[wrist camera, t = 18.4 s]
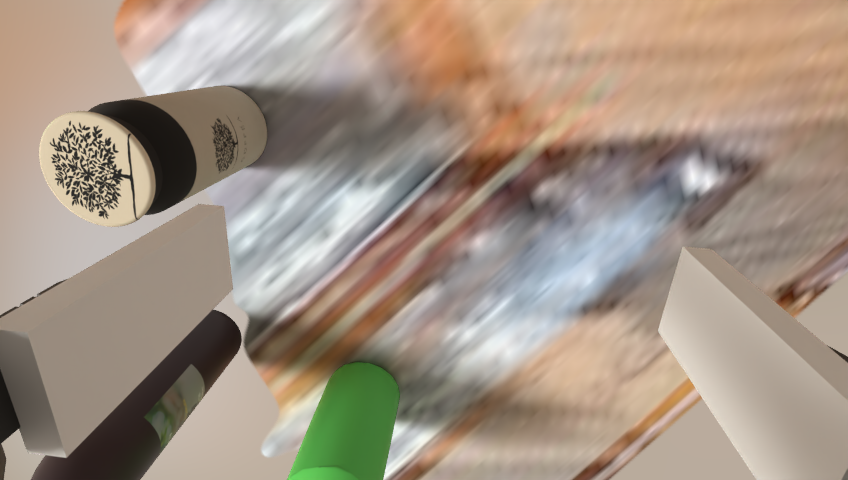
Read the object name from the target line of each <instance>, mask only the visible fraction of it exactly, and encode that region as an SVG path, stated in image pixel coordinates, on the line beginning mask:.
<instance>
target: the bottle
mask: <svg viewBox="0 0 848 480" xmlns="http://www.w3.org/2000/svg"><path fill="white" fill-rule="evenodd" d="M399 398H400V393H399V388H398V385H397V383H396V382H395V380H394V379H393V377H392V376H391V375H390V374H389V373H388V372H386V371H385V370H384V369H382V368H381V367H378V366H376V365H373V364H371V363H361V362H355V363H350V364H346V365H344V366H342V367H340V368H339V369H337V370H336V371H335V372H334V373H333V375H332V376H331V378H330V379H329V381H328V383H327V386H326V388H325V390H324V393H323V395H322V397H321V400H320V402H319V404H318V407H317V409H316V411H315V414H314V416H313V418H312V420H311V423H310V425H309V428H308V430H307V432H306V435H305V437H304V440H303V442H302V445H301V447H300V449H299V452H298V454H297V457H296V460H295V462H294V464H293V467H292V469H291V471H290V474H289V476H288V479H287V480H383V477H384V473H385V468H386V463H387V458H388V454H389V449H390V444H391V439H392V434H393V429H394V424H395V419H396V414H397V409H398V404H399Z"/></svg>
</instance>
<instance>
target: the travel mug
mask: <svg viewBox="0 0 848 480" xmlns="http://www.w3.org/2000/svg"><path fill="white" fill-rule="evenodd" d="M266 142H267V127H266V122H265V119H264V116H263V114H262V112H261V111H260V109H259V107H258V106H257V105H256V103H255V102H254V101H253V100H252V99H251V98H250V97H249V96H247V95H246V94H245V93H243V92H241V91H239V90H237V89H235V88H232V87H228V86H214V87H207V88H200V89H194V90H187V91H180V92H174V93H167V94H160V95H154V96H147V97H141V98H134V99H127V100H120V101H114V102H108V103H103V104H99V105H97V106H95V107H93V108H91V109H90V110H89V111H88V112H87V111H76V112H70V113H67V114H64V115H61V116H59V117H58V118H56V119H55V120H53V121H52V122H51V123H50V124H49V125H48V127H47V128H46V130H45V131H44V133H43V135H42V138H41V142H40V148H39V159H40V165H41V169H42V172H43V175H44V177H45V180H46V182H47V184H48V186H49V187H50V189H51V190H52V192H53V193H54V195H55V196H56V197H57V198H58V199H59V201H60V202H61V203H62V204H63V205H64V206H65V207H66V208H68V209H69V210H70V211H71V212H73V213H74V214H76V215H77V216H79V217H81V218H82V219H84V220H86V221H89V222H91V223H94V224H97V225H102V226H108V227H118V226H125V225H128V224H131V223H133V222H135V221H137V220H139V219H140V218H141V217H142V216H143V215H150V214H156V213H159V212H161V211H164V210H166V209H168V208H170V207H172V206H173V205H175V204H177V203H179V202H181V201H183V200H185V199H186V198H189V197H190V196H192V195H194V194H196V193H198V192H200V191H202V190H204V189H205V188H207V187H209V186H211V185H213V184H215V183H217V182H219V181H221V180H222V179H224V178H226V177H228V176H230V175H232V174H234V173H236V172H237V171H239V170H241V169H243V168H245V167H247V166H249V165H251V164H252V163H254V162H255V161H256V160H257V159H258V158H259V157H260V156H261V155H262V153H263V151H264V149H265V146H266Z"/></svg>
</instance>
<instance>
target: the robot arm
mask: <svg viewBox="0 0 848 480" xmlns="http://www.w3.org/2000/svg"><path fill="white" fill-rule="evenodd" d="M232 289H233V285H232V276H231V267H230V258H229V248H228V239H227V230H226V221H225V212H224V206H215V205H204V204H198V205H196V206H195V207H193V208H191V209H189V210H188V211H186V212H184V213H182V214H181V215H179V216H177V217H175V218H174V219H172V220H170V221H169V222H167V223H165V224H163V225H161V226H160V227H158V228H156V229H154V230H153V231H151V232H149V233H147V234H146V235H144V236H142V237H141V238H139V239H137V240H135V241H134V242H132V243H130V244H128V245H127V246H125V247H123V248H121V249H120V250H118V251H116V252H115V253H113V254H111V255H109V256H107V257H106V258H104V259H102V260H100V261H99V262H97V263H96V264H94V265H92V266H90V267H88V268H87V269H85V270H83V271H81V272H80V273H78V274H76V275H74V276H73V277H71V278H69V279H66V280H64V281H61V282H58V283H56V284H54V285H53V286H51V287H49V288H47V289H46V290H44V291H42V292H40V293H39V294H37V297H32V298H30V299H28V300H26V301H25V302H23V303H21V304H20V306H19V307H14V308H12V309H10V310H9V311H7V312H5V313H3V314H2V315H0V480H4V472H5V464H6V457H5V453H4V450H3V447H2V445H1V443H2V442H3V441H4V440H6V439H7V438H8V437H9V436H10V435H11V434H12V433H14V432H15V431H16V430H17V429H20V432H21V435H22V438H23V441H24V444H25V447H26V449H27V452H28V453H32V454H40V455H48V456H56V457H64V458H67V457H68V456H69V455H70V454H71V453H72V452H73V451H74V450H75V449H76V448H77V447H78V446H79V445H80V444H81V443H82V442H83V441H84V440H85V439H86V438H87V437H88V436H89V435H90V434H91V432H92V431H93V430H94V429H95V428H96V427H97V426H98V425H99V424H100V423H101V422H102V421H103V420H104V419H105V418H106V417H107V416H108V415H109V414H110V413H111V412H112V411H113V410H114V409H115V408H116V407H117V406H118V405H119V404H120V403H121V402H122V401H123V400H124V399H125V398H126V397H127V396H128V395H129V394H130V393H131V392H132V391H133V390H134V389H135V388H136V387H137V386H138V385H139V384H140V383H141V382H142V381H143V380H144V379H145V378H146V377H147V376H148V375H149V374H150V373H151V372H152V371H153V370H154V369H155V368H156V367H157V366H158V365H159V363H160V362H161V361H162V360H163V359H164V358H165V357H166V356H167V355H168V354H169V353H170V352H171V351H172V350H173V349H174V348H175V347H176V346H177V345H178V344H179V343H180V342H181V341H182V340H183V339H184V338H185V337H186V336H187V335H188V334H189V333H190V332H191V331H192V330H193V329H194V328H195V327H196V326H197V325H198V324H199V323H200V322H201V321H202V320H203V319H204V318H205V317H206V316H207V315H208V314H209V313H210V312H211V311H212V310H213V309H214V308H215V307H216V306H217V305H218V304H219V302H221V301H222V299H224V298H225V296H226V295H227V294H228V293H229V292H230V291H231V290H232ZM658 332H659V333H660V335H661V336H662V338H663V339H664V341H665V343H666V344H667V346H668V347H669V349H670V350H671V352H672V353H673V355H674V356H675V358H676V359H677V361H678V362H679V364H680V365H681V367H682V368H683V370H684V371H685V373H686V374H687V376H688V377H689V379H690V380H691V382H692V383H693V385H694V386H695V388H696V389H697V391H698V392H699V394H700V395H701V397H702V398H703V400H704V401H705V403H706V404H707V406H708V407H709V409H710V410H711V412H712V413H713V415H714V416H715V418H716V419H717V421H718V422H719V424H720V426H721V427H722V429H723V430H724V432H725V433H726V435H727V436H728V437H729V439H730V440H731V442H732V443H733V445H734V446H735V448H736V450H737V451H738V453H739V454H740V456H741V457H742V459H743V460H744V462H745V463H746V465H747V466H748V468H749V469H750V471H751V472H752V474H753V475H754V477H755V478H756V480H848V357H847V356H845V355H844V354H842V353H840V352H838V351H836V350H834V349H833V348H831V347H829V346H827V345H826V344H824V343H823V342H822V341H821V340H820V339H818V338H817V337H816V336H815V335H814V334H813V333H811V332H810V331H809V330H808V329H807V328H805V327H804V326H803V325H802V324H801V323H799V322H798V321H797V320H796V319H795V318H793V317H792V316H791V315H790V314H789V313H787V312H786V311H785V310H784V309H783V308H781V307H780V306H779V305H778V304H777V303H775V302H774V301H773V300H772V299H771V298H769V297H768V296H767V295H766V294H765V293H763V292H762V291H761V290H760V289H759V288H757V287H756V286H755V285H754V284H753V283H751V282H750V281H749V280H748V279H747V278H745V277H744V276H743V275H742V274H741V273H739V272H738V271H737V270H736V269H735V268H733V267H732V266H731V265H730V264H729V263H727V262H726V261H725V260H724V259H723V258H721V257H720V256H719V255H718V254H717V253H715V252H714V251H713V250H712V249H704V248H693V247H683V248H682V251H681V255H680V258H679V261H678V265H677V268H676V271H675V275H674V278H673V282H672V285H671V288H670V292H669V295H668V299H667V302H666V305H665V309H664V312H663V315H662V319H661V322H660V326H659V329H658Z"/></svg>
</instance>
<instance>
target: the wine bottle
mask: <svg viewBox="0 0 848 480" xmlns="http://www.w3.org/2000/svg"><path fill="white" fill-rule="evenodd" d="M240 345H241V333H240V330H239V328H238V326H237V325H236V323H235V322H234V321H233V320H232V319H231V318H230V317H228V316H227V315H225V314H224V313H222V312H219V311H216V310H212V311H211V312H210V313H209V314H208V315H207V316H206V317H205V318H204V319H203V320H202V321H201V322H200V323H199V324H198V325H197V326H196V327H195V328H194V329H193V330H192V331H191V332H190V333H189V334H188V335H187V336H186V337H185V338H184V339H183V340H182V341H181V342H180V343H179V344H178V345H177V346H176V347H175V348H174V349H173V350H172V351H171V352H170V353H169V354H168V355H167V356H166V357H165V358H164V359H163V360H162V361H161V362H160V363H159V365H158V366H157V367H156V368H155V369H154V370H153V371H152V372H151V373H150V374H149V375H148V376H147V377H146V378H145V379H144V380H143V381H142V382H141V383H140V384H139V385H138V386H137V387H136V388H135V389H134V390H133V391H132V392H131V393H130V394H129V395H128V396H127V397H126V398H125V399H124V400H123V401H122V402H121V403H120V404H119V405H118V406H117V407H116V408H115V409H114V410H113V411H112V412H111V413H110V414H109V415H108V416H107V417H106V418H105V419H104V420H103V421H102V422H101V423H100V424H99V425H98V426H97V427H96V428H95V429H94V430H93V431H92V432H91V434H90V435H89V436H88V437H87V438H86V439H85V440H84V441H83V442H82V443H81V444H80V445H79V446H78V447H77V448H76V449H75V450H74V451H73V452H72V453H71V454H70V455H69V456H68V457H67V458H64V457H56V456H48V455H45V457H44V458H43V460H42V461H41V463H40V464H39V466H38V467H37V469H36V470H35V472H34V474H33V477H32V479H31V480H140V479H141V478H142V477H143V475H144V474H145V472H147V470H148V469H149V467H150V466H151V465H152V464H153V462H154V461H155V460H156V458H157V457H158V456H159V455H160V453H161V452H162V451H163V449H164V448H165V446H166V445H167V444H168V443H169V441H170V440H171V439H172V437H173V436H174V435H175V434H176V432H177V431H178V430H179V428H180V427H181V426H182V424H183V423H184V422H185V420H186V419H187V418H188V417H189V415H190V414H191V413H192V411H193V410H194V409H195V407H196V406H197V405H198V404H199V402H200V401H201V400H202V398H203V397H204V396H205V394H206V393H207V392H208V390H209V389H210V388H211V387H212V385H213V384H214V382H215V381H216V380H217V378H218V377H219V376H220V375H221V373H222V372H223V371H224V370H225V368H226V367H227V366H228V364H229V363H230V362H231V360H232V359H233V358H234V356H235V355H236V354H237V352H238V350H239V348H240Z"/></svg>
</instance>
